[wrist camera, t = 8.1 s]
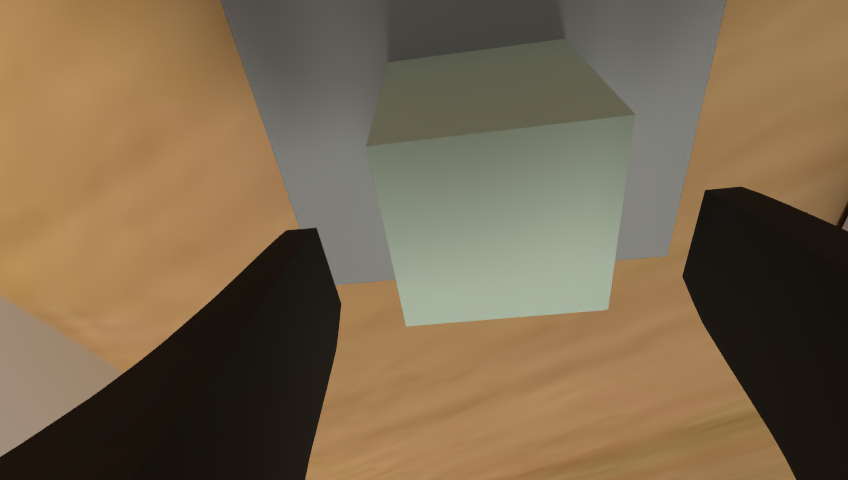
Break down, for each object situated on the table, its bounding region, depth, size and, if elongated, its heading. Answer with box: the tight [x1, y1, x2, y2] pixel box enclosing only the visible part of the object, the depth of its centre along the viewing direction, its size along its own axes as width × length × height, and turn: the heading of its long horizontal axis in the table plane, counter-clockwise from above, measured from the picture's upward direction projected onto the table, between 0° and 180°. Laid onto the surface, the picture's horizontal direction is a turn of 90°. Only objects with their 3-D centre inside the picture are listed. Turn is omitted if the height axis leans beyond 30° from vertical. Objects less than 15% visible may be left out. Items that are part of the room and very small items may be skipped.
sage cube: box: [366, 39, 635, 326], centre depth 11 cm, size 4×4×5 cm
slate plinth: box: [220, 0, 726, 285], centre depth 14 cm, size 12×10×2 cm
